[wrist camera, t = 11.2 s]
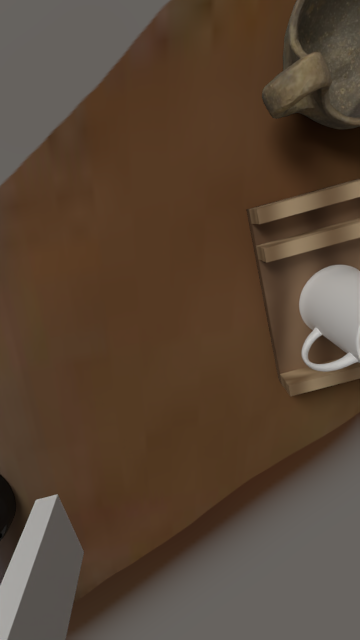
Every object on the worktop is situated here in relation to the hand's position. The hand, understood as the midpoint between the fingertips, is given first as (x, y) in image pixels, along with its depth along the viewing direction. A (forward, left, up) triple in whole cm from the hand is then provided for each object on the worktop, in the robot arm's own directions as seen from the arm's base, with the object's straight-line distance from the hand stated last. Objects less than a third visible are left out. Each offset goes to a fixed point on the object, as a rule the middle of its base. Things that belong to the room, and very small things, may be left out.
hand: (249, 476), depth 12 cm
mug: (+15, -6, -29) cm, 33 cm away
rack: (+16, -4, -30) cm, 34 cm away
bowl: (+19, +18, -30) cm, 40 cm away
